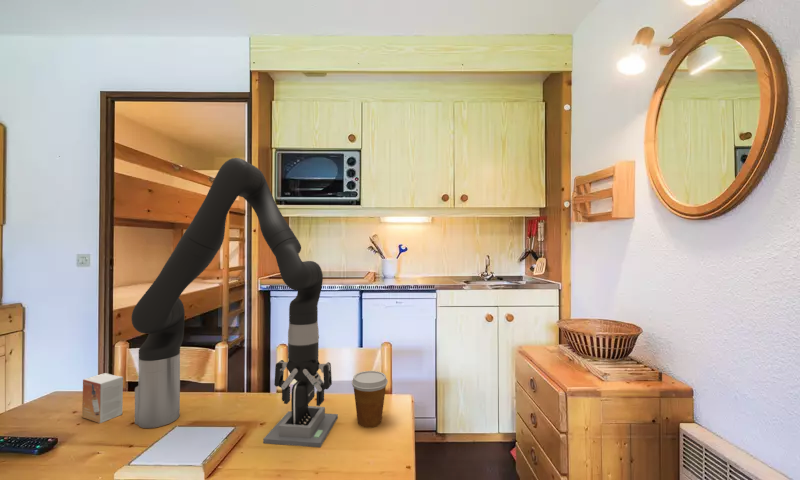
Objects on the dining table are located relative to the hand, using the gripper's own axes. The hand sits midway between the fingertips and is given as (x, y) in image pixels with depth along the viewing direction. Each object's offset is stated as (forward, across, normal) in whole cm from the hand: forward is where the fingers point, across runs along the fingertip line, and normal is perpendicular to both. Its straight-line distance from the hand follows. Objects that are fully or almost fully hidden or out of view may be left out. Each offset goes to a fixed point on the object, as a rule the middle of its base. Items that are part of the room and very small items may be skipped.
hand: (303, 403), depth 91 cm
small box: (+7, -57, 0) cm, 57 cm away
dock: (+7, 0, 0) cm, 7 cm away
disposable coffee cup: (+7, +16, +6) cm, 18 cm away
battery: (+6, 0, 0) cm, 6 cm away
